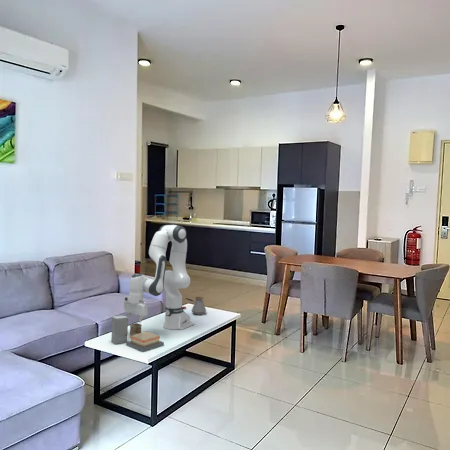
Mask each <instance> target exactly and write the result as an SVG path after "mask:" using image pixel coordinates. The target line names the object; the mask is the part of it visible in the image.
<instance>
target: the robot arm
mask: <svg viewBox="0 0 450 450" xmlns="http://www.w3.org/2000/svg"><path fill="white" fill-rule="evenodd" d="M169 242H171V246H170V247H171V248H170V255H169V264H170V265H171V267H172V270H171V269H168V270H166V269H167V256H166V254H167V253H166V252H167V248H168V243H169ZM187 252H188V240H187V230H186V228H185V226H184V227H183V226H182V225H177V224H164V225H161V226H160V227H159V229H158V231H156V232H155V233H154V235H153V237H152V240H151V242H150V245H149V249H148V255H149V258H150V259H151V260H152V261H153V262H154V263H155V264H156V265H155V266H156V269H155V273H154V274H155V275H154V278H150V277H147V276H145V275H144V274H143V273H134V274H132V275H131V276H130V280H129V293H128V295H129V296H124V297H123V300H124V301H123V310H124V312H126V313H127V317H128V320H133V316H132V314H133V315H136V316H138V317H139V319H137V323H138V324H141V323H142V320H143V318H145V317H147V316H148V305H147V303H146V302H145V301H144V293H146V294H148V295H152V296H154V297H158V296H160V295H161V294H162V293H163V291H165V299H166V300H165V309H164V310H165V316H164V322H163V325H162V326H163V328H164V329H166V330H167V329H168V330H185V329H187V328H190V327H191V326H193V325H195V323H194V322H193V321H191V316H190V314H188V313H187V312H185V310H187V307H186V306H183V295H182V293H181V292H180V291H179V290H180V289H181V290H182V289H187V288H189V286H190V284H191V277H190V276H189V274H188V271H187V269H186V268H187V267H186V259H187Z"/></svg>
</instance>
